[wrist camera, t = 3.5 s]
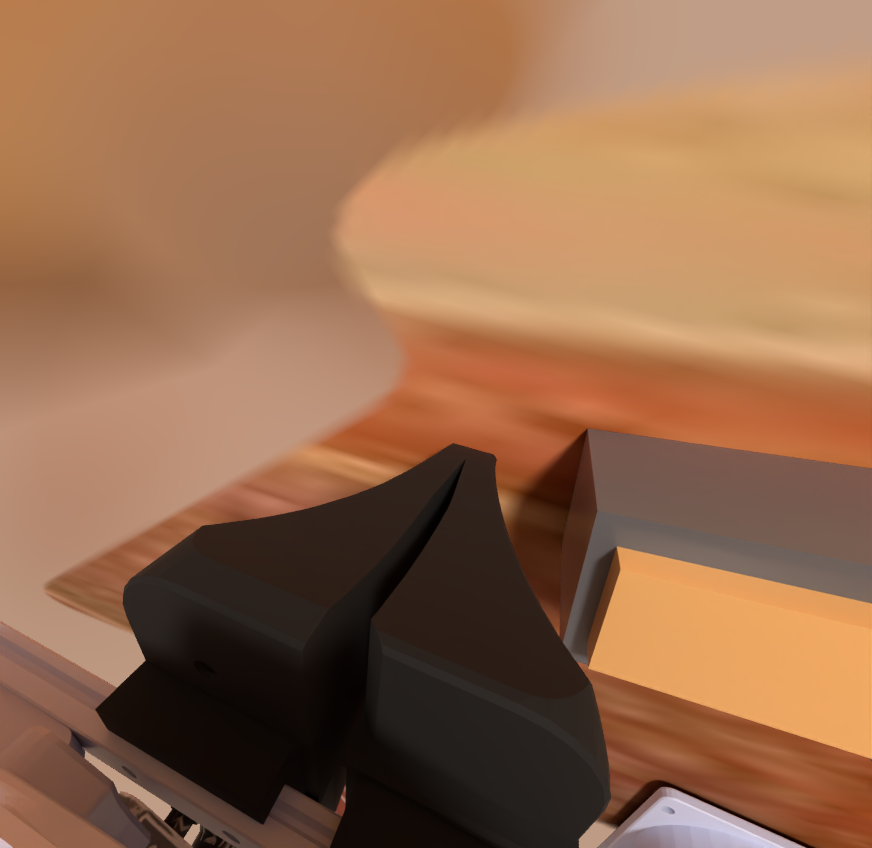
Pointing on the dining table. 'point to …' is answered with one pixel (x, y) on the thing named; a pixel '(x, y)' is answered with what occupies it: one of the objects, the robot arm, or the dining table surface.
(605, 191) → the dining table surface
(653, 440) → the grey box orange face
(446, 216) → the dining table surface
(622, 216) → the dining table surface
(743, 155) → the dining table surface
